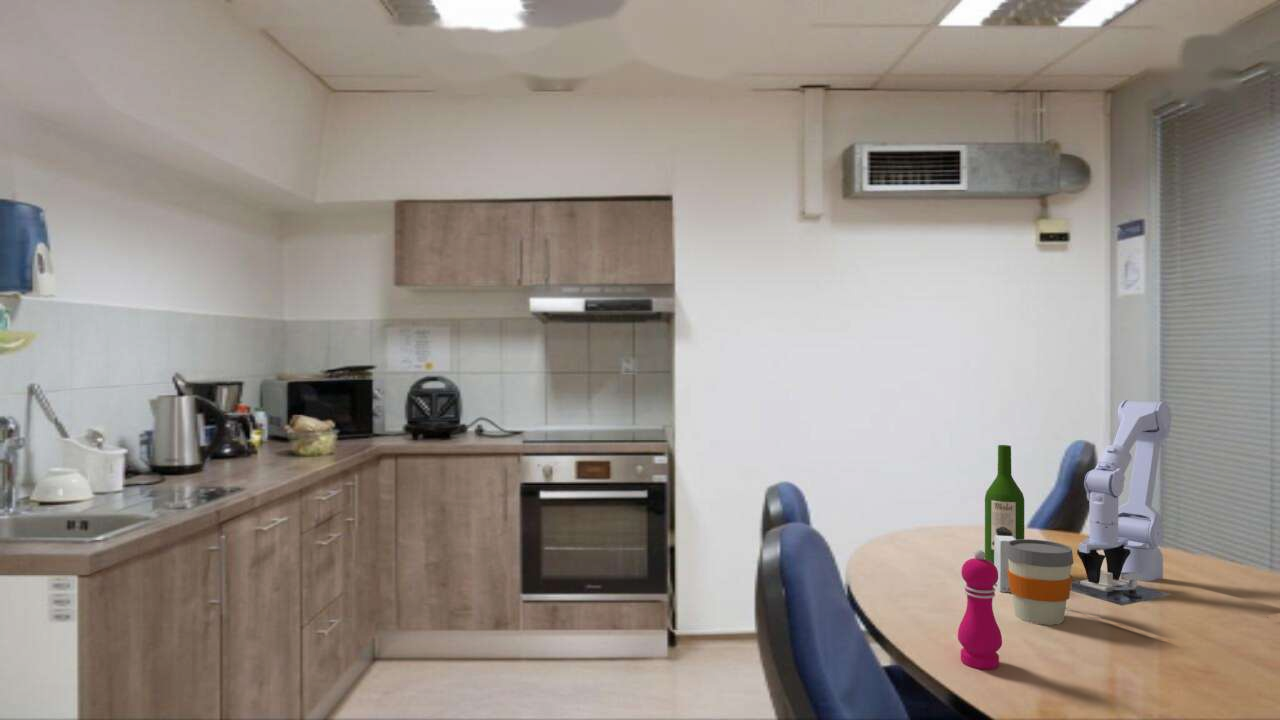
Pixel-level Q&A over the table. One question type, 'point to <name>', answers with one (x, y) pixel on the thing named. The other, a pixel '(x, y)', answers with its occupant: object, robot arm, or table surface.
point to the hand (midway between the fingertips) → (1103, 580)
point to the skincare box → (1002, 561)
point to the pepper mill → (979, 615)
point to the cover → (1104, 582)
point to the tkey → (1130, 581)
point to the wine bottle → (1003, 505)
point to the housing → (1118, 593)
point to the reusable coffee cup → (1039, 579)
